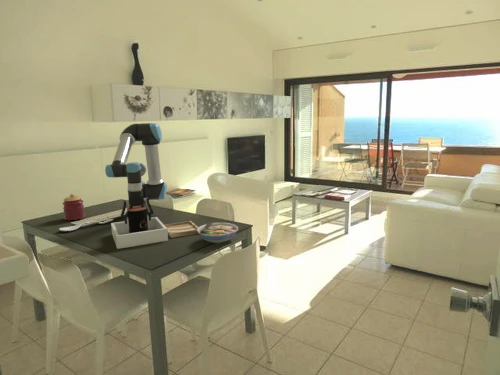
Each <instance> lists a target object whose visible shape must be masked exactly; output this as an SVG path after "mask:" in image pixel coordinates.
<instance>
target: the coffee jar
mask: <svg viewBox="0 0 500 375" xmlns="http://www.w3.org/2000/svg"><path fill="white" fill-rule="evenodd" d="M127 210H128V211H129V212H128V216H127V217H128V222H129V233H136V232H143V231H149V230H148V221H147V211H146V206H145V207H142V206H141V205H140V206H136V207H134V206H133V208H131V209H129V206H128V207H126V211H127ZM129 233H128V234H129Z"/></svg>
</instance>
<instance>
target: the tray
mask: <svg viewBox="0 0 500 375" xmlns="http://www.w3.org/2000/svg"><path fill="white" fill-rule="evenodd" d="M164 226H165V227H166V228H167V233H168V237H169V238H170V239H174V238H178V237H179V238H180V237H186V236H193V235H199V233H198V232H197V229H198V227H199V226H198V225H196V223H194V222H193V221H192V220H188V221H182V222H181V221H180V222H175V223H168V224H167V223H166V224H164Z"/></svg>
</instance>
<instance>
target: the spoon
mask: <svg viewBox="0 0 500 375" xmlns="http://www.w3.org/2000/svg"><path fill="white" fill-rule="evenodd" d="M105 218H108V220H106V221H104V222H99V221H98V222H99V223H98V224H101V225H103V224H106V223H109V222H112V221H114V218H110V217H109V216H105ZM92 222H97V221H96V220H90V221H84V222H82V223H79V224H76V225H72V226H64V227H60V228H58V230H59V231H60V232H67V231H68V232H73V231H75V230H77V229H79V228H81V225H82V226H83V224H84V225H87V224H91V223H92ZM92 224H93V223H92Z"/></svg>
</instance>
